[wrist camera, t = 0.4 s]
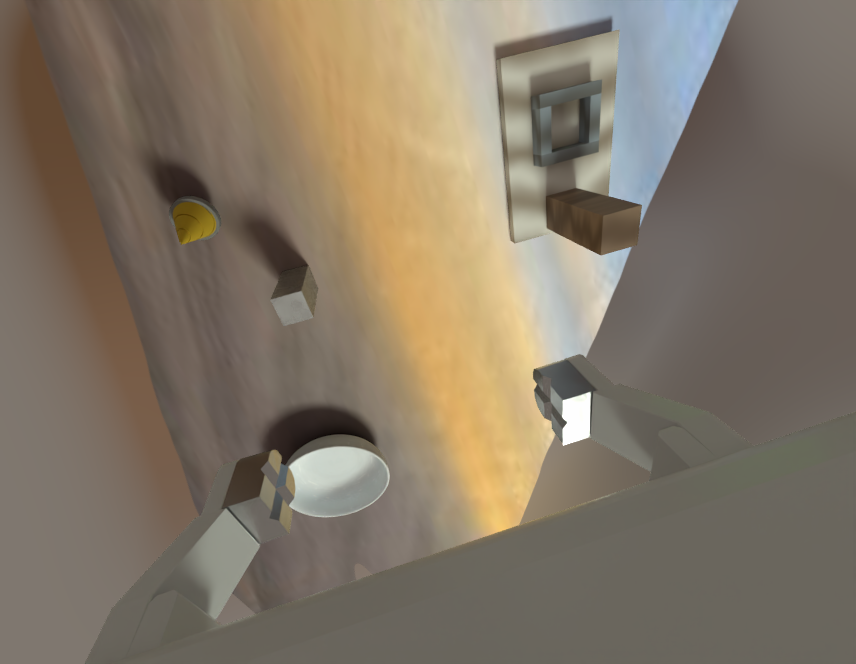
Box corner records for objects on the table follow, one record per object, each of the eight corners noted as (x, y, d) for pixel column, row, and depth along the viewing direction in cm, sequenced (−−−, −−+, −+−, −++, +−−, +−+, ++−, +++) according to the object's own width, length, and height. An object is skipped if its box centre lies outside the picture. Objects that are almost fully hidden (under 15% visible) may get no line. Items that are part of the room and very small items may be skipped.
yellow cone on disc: (214, 185, 45) (195, 218, 38) (231, 224, 49) (216, 261, 41) (169, 190, 44) (140, 224, 37) (190, 229, 48) (167, 268, 41)
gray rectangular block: (282, 271, 53) (270, 299, 44) (308, 264, 53) (301, 291, 44) (293, 295, 55) (283, 326, 46) (318, 288, 55) (313, 317, 46)
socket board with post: (496, 60, 45) (558, 32, 32) (611, 32, 46) (718, -6, 33) (511, 240, 58) (560, 274, 44) (601, 215, 59) (675, 241, 45)
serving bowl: (310, 500, 79) (307, 530, 73) (265, 440, 68) (257, 469, 62) (398, 470, 80) (402, 497, 74) (367, 406, 69) (369, 432, 63)
